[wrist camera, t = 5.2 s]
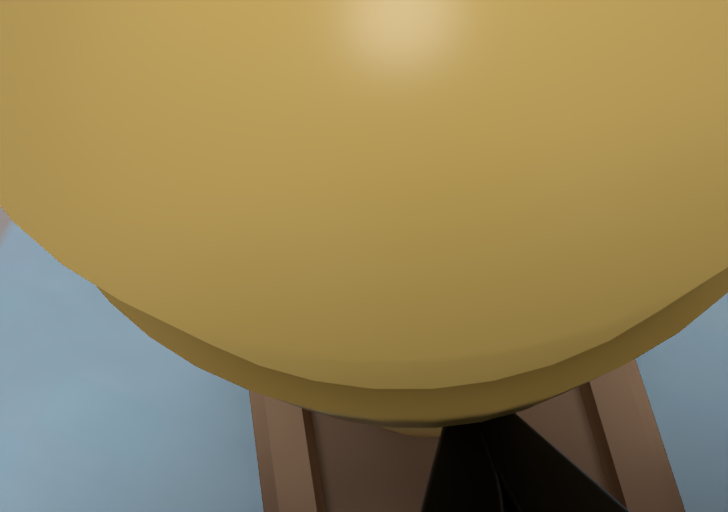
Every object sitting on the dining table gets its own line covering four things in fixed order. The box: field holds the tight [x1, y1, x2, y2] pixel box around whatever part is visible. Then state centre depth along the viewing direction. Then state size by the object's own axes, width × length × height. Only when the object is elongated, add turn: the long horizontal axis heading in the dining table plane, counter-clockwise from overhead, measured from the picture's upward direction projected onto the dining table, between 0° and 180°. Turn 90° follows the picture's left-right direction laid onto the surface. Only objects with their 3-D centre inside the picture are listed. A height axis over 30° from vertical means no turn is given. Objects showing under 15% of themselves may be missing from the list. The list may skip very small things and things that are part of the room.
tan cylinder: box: [0, 0, 728, 437], centre depth 9 cm, size 6×6×12 cm
